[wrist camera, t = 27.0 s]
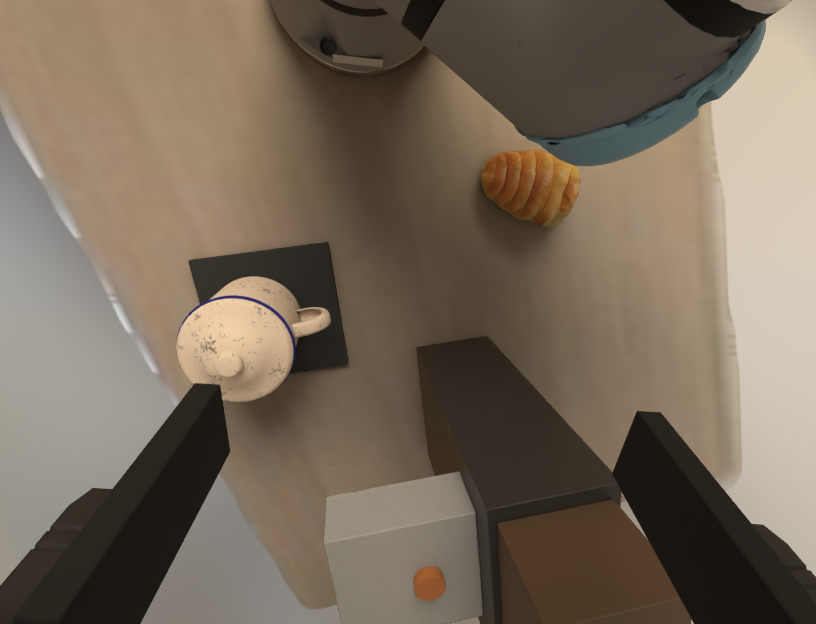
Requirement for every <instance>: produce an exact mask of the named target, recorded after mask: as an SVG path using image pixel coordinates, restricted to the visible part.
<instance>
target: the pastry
mask: <svg viewBox="0 0 816 624" xmlns="http://www.w3.org/2000/svg"><path fill="white" fill-rule="evenodd" d="M481 183H482V186H483V190H484V193H485V195H486V196H487V197H488V198H490V199H491V200H493V201H494V202H496V204H497V205H498V206H499V207H500V208H502V209H503V210H505V211H508V212H509V213H511V214H512V215H513V216H514V217H515V218H516V219H519V220H521V219H524V220H527V221H530V222H535V223H537V224H539V225H544V226H546V227H547V228H551V227H554V226H556V225H557V224H558V223H559V222H561V221H562V220H563V218H564V217H566V216H567V215H568V214H569V213H570V211H571V209H572V207H573V205H574V203H575V201H576V198H577V196H578V193H579V184H580V174H579V172H578V169H577V167H576V166H575V165H572V164H569V163H566V162H563V161H561V160H559V159H558V158H556V157H555V156H554V155H552V154H549V153H545V152H543V151H540V150H536V151H530V150H529V151H518V152H505V153H500V154H498V155H496V156H494V157H492V158H490V159H488V160H487V161H486V162H485V163H484V165H483V168H482V171H481Z"/></svg>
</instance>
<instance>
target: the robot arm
mask: <svg viewBox="0 0 816 624" xmlns="http://www.w3.org/2000/svg"><path fill="white" fill-rule="evenodd" d="M269 1H270V3H271V5H272V8H273V10H274V12H275V14H276V16H277V18H278V20H279V22H280V23H281V25H282V27H283V28H284V30H285V31H286V33H287V34H288V36H289V37H290V38H291V39H292V40H293V42H294V43H295V44H296V45H297V46H298V47H299V48H300V49H301V50H302V51H303V52H304V53H306V54H307V55H308V56H309V57H310V58H312V59H313V60H315V61H316V62H318V63H319V64H321V65H323V66H325V67H327V68H329V69H331V70H333V71H336V72H339V73H343V74H347V75H353V76H373V75H379V74H384V73H387V72H390V71H392V70H394V69H396V68H399V67H400V66H402V65H404V64H405V63H407V62H408V61H409V60H411V59H412V58H413V57H414V56H416V55H417V54H418V53H419V52H420V51H421V49H422V48H423V47H424V46H425V47H427V48H428V49H429V50H430V51H431V52H432V53H433V54H435V55H436V56H437V57H438V58H439V59H440V60H441V61H442V62H444V63H445V64H446V65H447V66H448V67H449V68H450V69H451V70H453V71H454V72H455V73H456V74H457V75H458V76H459V77H461V78H462V79H463V80H464V81H465V82H466V83H467V84H468V85H470V86H471V87H472V88H473V89H474V90H475V91H476V92H477V93H479V94H480V95H481V96H482V97H483V98H484V99H485V100H487V101H488V102H489V103H490V104H491V105H492V106H493V107H494V108H496V109H497V110H498V111H499V112H500V113H501V114H502V115H503V116H505V117H506V118H507V119H508V120H509V121H510V122H511V123H513V124H514V126H515V128H516V129H517V131H518V132H519V133H520V134H521V135H522V136H525V137H526V138H527V139H528V140H531V141H533V142H536V143H538V144H540V145H541V146H542V147H543V148H545V149H546V150H547V151H549V152H550V153H551V154H552V155H554V156H555V157H556V158H558V159H559V160H561V161H563V162H566V163H569V164H572V165H578V166H596V165H603V164H608V163H612V162H615V161H618V160H621V159H624V158H627V157H630V156H632V155H635V154H637V153H639V152H642V151H644V150H646V149H648V148H650V147H652V146H654V145H655V144H657V143H659V142H661V141H663V140H664V139H666V138H668V137H669V136H671V135H672V134H674V133H676V132H677V131H679V130H680V129H682V128H683V127H684V126H686V125H687V124H688V123H690V122H691V121H692V120H694V119H695V118H697V117H698V114H699V111H698V109H699V108H700V106H702V105H703V104H705V103H707V102H709V101H713V100H716V99H719V98H720V97H721V96H722V95H723V94H724V93H725V92H727V91H728V90H729V89H730V88H731V87H732V85H733V84H734V83H735V82H736V81H737V80H738V79H739V78H740V76H741V75H742V74H743V73H744V71H745V70H746V69H747V67H748V66H749V64H750V62H751V61H752V60H753V58H754V57H755V55H756V54H757V52H758V51H759V48H760V46H761V43H762V40H763V37H764V34H765V29H766V19H767V18H768V17H770V16H771V15H773V14H774V13H776V12H777V11H779V10H780V9H782V8H783V7H784V6H786V5H787V4H789V3H790V2H791V1H792V0H269ZM229 453H230V447H229V440H228V434H227V427H226V420H225V414H224V407H223V400H222V394H221V387H220V385H218V384H203V383H195V384H194V385H193V386H192V388H191V389H190V390H189V392H188V393H187V394H186V395H185V397H184V398H183V399H182V401H181V402H180V403H179V404H178V406H177V407H176V408H175V410H174V411H173V412H172V414H171V415H170V416H169V417H168V419H167V420H166V421H165V422H164V424H163V425H162V426H161V428H160V429H159V430H158V431H157V433H156V434H155V435H154V437H153V438H152V439H151V440H150V442H149V443H148V444H147V446H146V447H145V448H144V449H143V451H142V452H141V453H140V455H139V456H138V457H137V458H136V460H135V461H134V463H133V464H132V465H131V466H130V467H129V469H128V470H127V471H126V473H125V474H124V475H123V477H122V478H121V479H120V480H119V482H118V483H117V484H116V486H115V487H114V488H113V489H99V488H98V489H97V488H92V489H91V490H90V491H88V492H87V493H85V494H84V495H83V496H82V497H80V498H79V499H77V500H76V501H74V502H73V503H72V504H71V505H69V506H68V507H67V508H66V510H65V511H64V512H63V513H62V514H61V515H60V517H59V518H58V519H57V520H56V521H55V522H54V523H53V525H52V526H51V529H50V531H47V532H46V533H45V534H44V535H43V536H42V538H41V539H40V540H39V541H38V542H37V543H36V545H35V548H34V549H32V550H30V552H29V553H28V554H27V555H26V556H25V558H24V559H23V560H22V561H21V562H20V563H19V564H18V566H17V567H16V568H15V569H14V570H13V571H12V573H11V574H10V575H9V576H8V577H7V579H6V580H5V581H4V582H3V583H2V585H0V624H140V623H141V621H142V619H143V617H144V615H145V614H146V612H147V610H148V608H149V606H150V604H151V602H152V600H153V598H154V596H155V594H156V593H157V591H158V589H159V587H160V585H161V582H162V581H163V579H164V577H165V575H166V573H167V571H168V569H169V568H170V566H171V564H172V562H173V560H174V558H175V556H176V554H177V552H178V550H179V548H180V546H181V545H182V543H183V541H184V539H185V537H186V535H187V533H188V531H189V529H190V527H191V525H192V524H193V522H194V520H195V518H196V516H197V514H198V512H199V510H200V508H201V506H202V504H203V502H204V500H205V499H206V497H207V495H208V493H209V491H210V489H211V487H212V485H213V483H214V481H215V479H216V478H217V476H218V474H219V472H220V470H221V468H222V466H223V464H224V462H225V460H226V458H227V456H228V455H229ZM612 475H613V477H614V478H615V480H616V482H617V484H618V486H619V487H620V489H621V491H622V493H623V495H624V497H625V498H626V500H627V502H628V504H629V506H630V508H631V509H632V511H633V513H634V515H635V517H636V518H637V520H638V522H639V524H640V526H641V528H642V529H643V531H644V533H645V535H646V537H647V538H648V540H649V542H650V544H651V546H652V548H653V550H654V551H655V553H656V555H657V557H658V559H659V561H660V562H661V564H662V566H663V568H664V570H665V571H666V573H667V575H668V577H669V579H670V581H671V582H672V584H673V586H674V588H675V590H676V592H677V593H678V595H679V597H680V599H681V601H682V602H683V604H684V606H685V608H686V610H687V612H688V613H689V615H690V617H691V619H692V621H693V623H694V624H816V577H815V576H814V575H813V573H812V572H811V571H808V570H807V569H806V565H805V564H804V563H803V562H802V561H801V559H799V557H798V556H797V555H796V554H795V553H794V551H793V550H792V549H791V548H790V547H789V545H788V544H787V543H785V542H784V541H783V540H781V539H780V538H779V537H778V536H777V535H775V534H774V533H773V532H771V531H770V530H769V529H768V528H767V527H765V526H764V525H758V524H751V523H750V521H749V520H748V519H747V518H746V517H745V515H744V514H743V513H742V512H741V510H740V509H739V508H738V507H737V505H736V504H735V503H734V502H733V501H732V499H731V498H730V497H729V496H728V494H727V493H726V492H725V491H724V490H723V488H722V487H721V486H720V485H719V483H718V482H717V481H716V480H715V479H714V477H713V476H712V475H711V474H710V472H709V471H708V470H707V469H706V467H705V466H704V465H703V464H702V463H701V461H700V460H699V459H698V458H697V456H696V455H695V454H694V453H693V452H692V450H691V449H690V448H689V447H688V445H687V444H686V443H685V442H684V441H683V439H682V438H681V437H680V436H679V434H678V433H677V432H676V431H675V429H674V428H673V427H672V426H671V425H670V423H669V422H668V421H667V420H666V418H665V417H664V416H663V415H662V414H661V413H660V412H644V411H637V413H636V415H635V418H634V420H633V423H632V425H631V428H630V430H629V433H628V435H627V438H626V440H625V443H624V445H623V448H622V450H621V453H620V455H619V458H618V460H617V463H616V465H615V468H614V471H613V473H612Z"/></svg>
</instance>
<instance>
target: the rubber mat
mask: <svg viewBox="0 0 816 624" xmlns="http://www.w3.org/2000/svg"><path fill="white" fill-rule="evenodd" d="M189 265H190V269H191V272H192V276H193V279H194V283H195V287H196V290H197V294H198V297H199V301H200V304H202V303H204V302H206V301H208V300H210V299H211V298H212V297H213V296H214V295H215V294H217V293H218V292H219V291H220V290H221V289H222V288H223V287H225V286H226V285H227V284H229V283H230V282H232V281H234V280H237V279H240V278H244V277H252V276H253V277H264V278H268V279H271V280H274V281H276V282H278V283H280V284H281V285H283V286H284V287H285V288H287V289H288V290H289V291H290V292H291V293H292V295H293V296H294V297H295V299H296V300H297V302H298V304H299V307H300V309H304V308H311V307H320V308H324V309H326V310H327V311H328V312H329V314H330V318H331V322H330V324H329V325H328V326H327V327H326V328H325V329H323V330H321V331H319V332H317V333H314V334H311V335H307V336H303V337H299V338H298V341H297V345H296V357H295V362H294V365H293V368H292V371H291V373H290V374H292V373H298V372H304V371H310V370H316V369H323V368H329V367H335V366H341V365H347V364H348V358H347V352H346V346H345V340H344V334H343V328H342V322H341V316H340V310H339V304H338V299H337V293H336V287H335V281H334V275H333V269H332V263H331V257H330V251H329V245H328V242H324V243H317V244H309V245H301V246H294V247H286V248H278V249H271V250H263V251H255V252H248V253H240V254H232V255H225V256H217V257H209V258H202V259H194V260H190V261H189Z"/></svg>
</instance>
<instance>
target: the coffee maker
mask: <svg viewBox="0 0 816 624" xmlns="http://www.w3.org/2000/svg"><path fill="white" fill-rule="evenodd" d="M417 356H418V365H419V374H420V383H421V392H422V401H423V410H424V419H425V427H426V436H427V445H428V454H429V458H430V461H431V464H432V468H433V471H434V474H435V476H432V477H427V478H422V479H417V480H412V481H406V482H401V483H396V484H391V485H386V486H380V487H375V488H370V489H365V490H360V491H354V492H349V493H344V494H339V495H334V496H328V497H327V498H326V514H325V532H324V546H325V551H326V555H327V560H328V564H329V569H330V573H331V578H332V582H333V587H334V591H335V596H336V600H337V605H338V609H339V614H340V618H341V623H342V624H447V623H452V622H456V621H461V620H465V619H469V618H473V617H479V621H480V624H691V617H690V615H689V613H688V612H687V610H686V608H685V606H684V604H683V602H682V601H681V599H680V597H679V595H678V593H677V592H676V590H675V588H674V586H673V584H672V582H671V581H670V579H669V577H668V575H667V573H666V571H665V570H664V568H663V566H662V564H661V562H660V561H659V559H658V557H657V555H656V553H655V551H654V550H653V548H652V546H651V544H650V542H649V541H648V540H647V538H646V537H645V536H644V535H643V534H642V533H641V531H640V530H639V529H638V528H637V527H636V526H635V524H634V523H633V522H632V521H631V520H630V518H628V516H627V515H626V514H625V513H624V511H623V510H622V509H621V508H620V504H621V489H620V487H619V486H618V484H617V482H616V480H615V478H614V477H613V475H612V471H611V470H610V469H609V468H608V467H607V466H606V465H605V464H604V463H603V462H602V461H601V459H600V458H599V457H598V456H597V455H596V454H595V453H594V452H593V451H592V450H591V449H590V448H589V446H588V445H587V444H586V443H585V442H584V441H583V440H582V439H581V438H580V437H579V436H578V434H577V433H576V432H575V431H574V430H573V429H572V428H571V427H570V426H569V425H568V424H567V423H566V421H565V420H564V419H563V418H562V417H561V416H560V415H559V414H558V413H557V412H556V411H555V409H554V408H553V407H552V406H551V405H550V404H549V403H548V402H547V401H546V400H545V399H544V398H543V396H542V395H541V394H540V393H539V392H538V391H537V390H536V389H535V388H534V387H533V386H532V384H531V383H530V382H529V381H528V380H527V379H526V378H525V377H524V376H523V375H522V374H521V372H520V371H519V370H518V369H517V368H516V367H515V366H514V365H513V364H512V363H511V362H510V361H509V359H508V358H507V357H506V356H505V355H504V354H503V353H502V352H501V351H500V350H499V349H498V347H497V346H496V345H495V344H494V343H493V342H492V341H491V340H490V339H489V338H488V337H487V336H485V337H478V338H472V339H466V340H459V341H453V342H447V343H441V344H434V345H428V346H422V347H417Z"/></svg>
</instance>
